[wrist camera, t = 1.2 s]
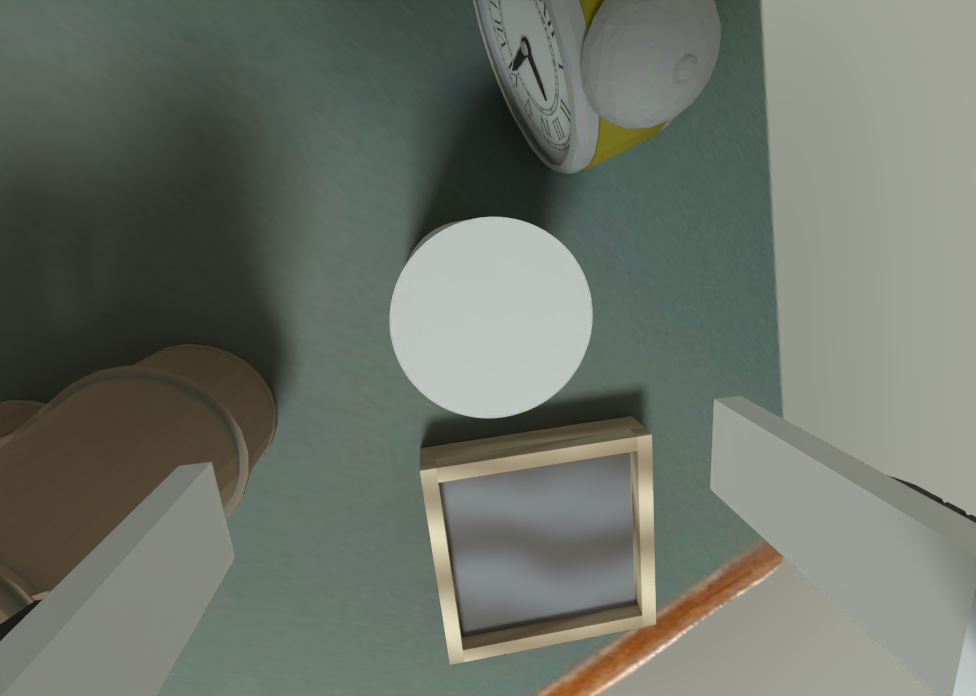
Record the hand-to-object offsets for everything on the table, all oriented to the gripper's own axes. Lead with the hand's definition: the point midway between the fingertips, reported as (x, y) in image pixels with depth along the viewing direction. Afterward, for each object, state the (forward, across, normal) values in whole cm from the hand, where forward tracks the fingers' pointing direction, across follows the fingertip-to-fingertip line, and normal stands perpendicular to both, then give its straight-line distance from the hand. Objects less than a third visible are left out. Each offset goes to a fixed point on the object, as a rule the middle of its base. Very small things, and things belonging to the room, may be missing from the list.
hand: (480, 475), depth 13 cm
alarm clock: (+20, +7, +15) cm, 25 cm away
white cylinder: (+20, +2, +2) cm, 20 cm away
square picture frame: (+19, +5, -16) cm, 25 cm away
